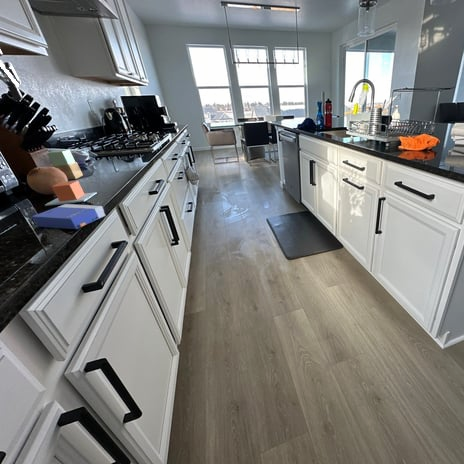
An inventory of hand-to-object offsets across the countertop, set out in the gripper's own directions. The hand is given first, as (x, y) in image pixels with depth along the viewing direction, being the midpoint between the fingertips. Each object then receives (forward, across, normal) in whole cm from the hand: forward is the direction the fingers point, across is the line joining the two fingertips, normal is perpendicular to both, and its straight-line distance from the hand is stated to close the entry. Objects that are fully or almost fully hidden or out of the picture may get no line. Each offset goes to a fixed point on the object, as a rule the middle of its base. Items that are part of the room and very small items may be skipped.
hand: (8, 99), depth 78 cm
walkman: (+26, +37, +21) cm, 50 cm away
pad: (+28, +19, +16) cm, 38 cm away
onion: (+28, +10, +6) cm, 30 cm away
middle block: (+23, -12, -1) cm, 26 cm away
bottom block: (+28, -12, -1) cm, 31 cm away
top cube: (+28, +19, +16) cm, 37 cm away
